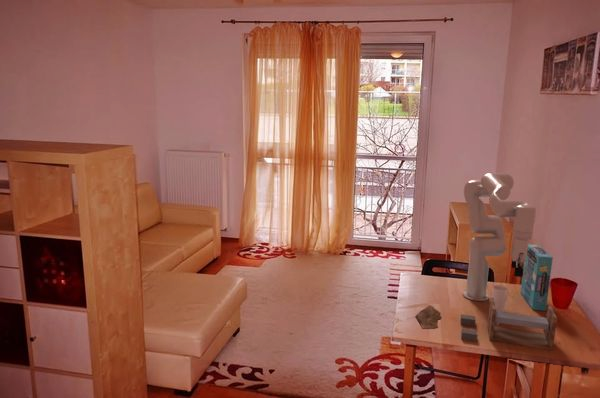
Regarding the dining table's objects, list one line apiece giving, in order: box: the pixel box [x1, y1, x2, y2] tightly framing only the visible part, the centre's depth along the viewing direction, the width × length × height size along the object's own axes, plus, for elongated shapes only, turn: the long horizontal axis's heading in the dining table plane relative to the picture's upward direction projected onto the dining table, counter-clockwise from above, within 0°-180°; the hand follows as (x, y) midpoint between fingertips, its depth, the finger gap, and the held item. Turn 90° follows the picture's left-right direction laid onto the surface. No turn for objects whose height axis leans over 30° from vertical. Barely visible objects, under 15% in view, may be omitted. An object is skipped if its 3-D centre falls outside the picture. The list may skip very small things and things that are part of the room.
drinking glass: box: [490, 284, 509, 312], centre depth 210 cm, size 7×7×15 cm
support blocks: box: [460, 313, 478, 342], centre depth 199 cm, size 18×6×3 cm, turn 162°
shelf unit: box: [486, 297, 558, 351], centre depth 192 cm, size 12×24×14 cm, turn 72°
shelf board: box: [495, 311, 549, 330], centre depth 192 cm, size 20×6×2 cm, turn 72°
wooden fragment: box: [415, 304, 442, 330], centre depth 211 cm, size 26×11×1 cm, turn 156°
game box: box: [520, 243, 553, 312], centre depth 227 cm, size 20×6×27 cm, turn 170°
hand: (516, 272), depth 196 cm, fingers open, 9 cm apart
